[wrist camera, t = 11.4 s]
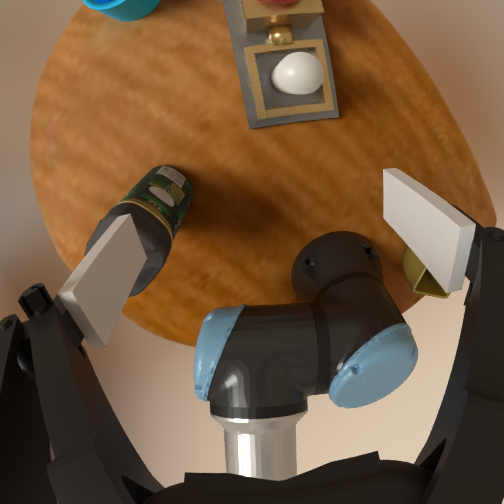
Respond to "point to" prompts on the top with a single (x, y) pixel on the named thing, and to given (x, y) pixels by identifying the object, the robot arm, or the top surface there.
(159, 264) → the coffee jar
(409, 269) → the flower pot
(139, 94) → the top surface
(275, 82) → the white rounded cylinder
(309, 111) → the red push button box
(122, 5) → the mug
